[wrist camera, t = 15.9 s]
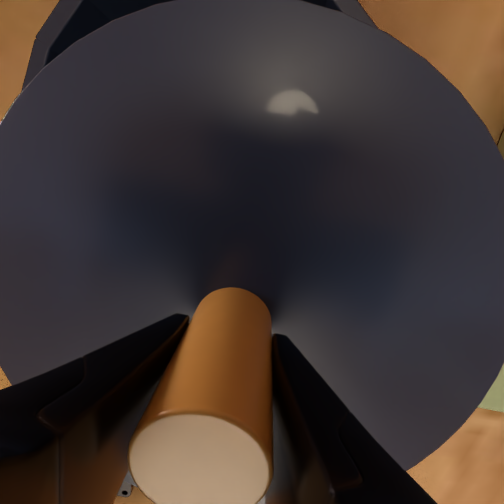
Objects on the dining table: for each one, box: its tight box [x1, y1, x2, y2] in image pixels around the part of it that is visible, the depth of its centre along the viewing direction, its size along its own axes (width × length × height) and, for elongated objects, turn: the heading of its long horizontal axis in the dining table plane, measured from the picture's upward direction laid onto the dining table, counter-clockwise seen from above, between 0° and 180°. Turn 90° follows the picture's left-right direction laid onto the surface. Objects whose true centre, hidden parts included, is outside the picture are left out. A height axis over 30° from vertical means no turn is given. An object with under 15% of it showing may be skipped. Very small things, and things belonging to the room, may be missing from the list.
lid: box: [0, 0, 504, 504], centre depth 8 cm, size 18×18×6 cm
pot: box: [21, 0, 377, 92], centre depth 15 cm, size 17×17×4 cm
